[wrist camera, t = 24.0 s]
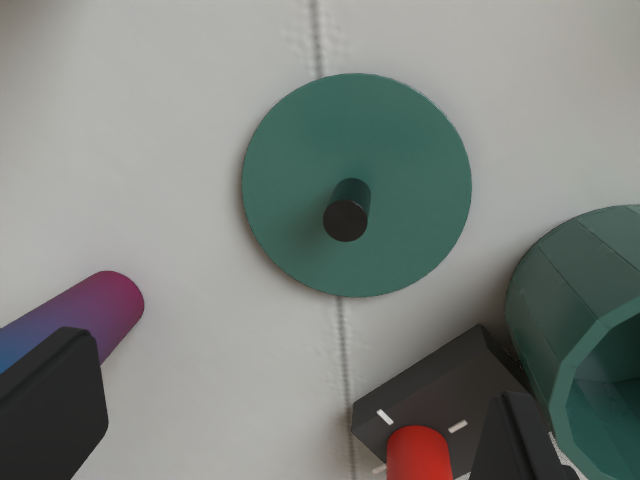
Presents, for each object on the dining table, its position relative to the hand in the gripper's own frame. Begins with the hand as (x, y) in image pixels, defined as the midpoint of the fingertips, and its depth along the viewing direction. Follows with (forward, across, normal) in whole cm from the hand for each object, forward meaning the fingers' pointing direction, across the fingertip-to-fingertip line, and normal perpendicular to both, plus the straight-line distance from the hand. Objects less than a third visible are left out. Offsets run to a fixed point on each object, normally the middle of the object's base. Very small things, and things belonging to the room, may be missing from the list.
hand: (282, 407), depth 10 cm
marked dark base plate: (+20, -9, +16) cm, 27 cm away
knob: (+17, -7, +18) cm, 26 cm away
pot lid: (+20, 0, 0) cm, 20 cm away
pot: (+20, -18, +6) cm, 28 cm away
